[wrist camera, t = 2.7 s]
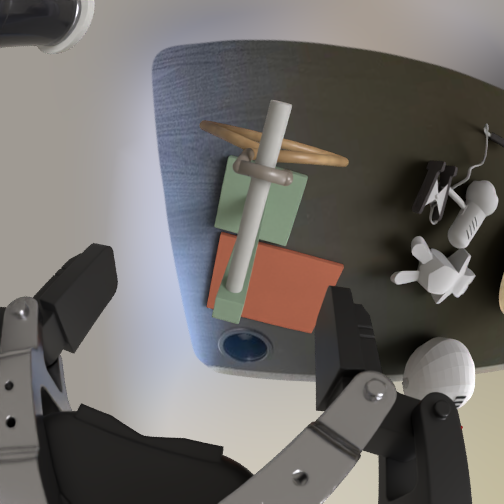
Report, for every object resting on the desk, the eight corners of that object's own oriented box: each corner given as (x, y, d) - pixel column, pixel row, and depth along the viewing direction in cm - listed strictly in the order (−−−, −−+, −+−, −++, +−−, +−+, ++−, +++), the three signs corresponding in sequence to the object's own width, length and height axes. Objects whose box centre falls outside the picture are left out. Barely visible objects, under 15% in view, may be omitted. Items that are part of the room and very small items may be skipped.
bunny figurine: (457, 313, 40) (392, 298, 38) (445, 293, 44) (380, 275, 42) (490, 267, 35) (427, 241, 33) (474, 249, 39) (411, 222, 37)
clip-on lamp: (459, 103, 30) (400, 203, 36) (484, 97, 24) (420, 211, 30) (506, 157, 31) (453, 251, 37) (532, 159, 25) (476, 266, 31)
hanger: (200, 128, 26) (145, 155, 16) (202, 119, 25) (147, 141, 16) (345, 166, 26) (375, 216, 16) (348, 157, 25) (381, 202, 16)
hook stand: (216, 223, 42) (158, 336, 24) (245, 86, 32) (186, 84, 14) (285, 242, 42) (276, 368, 24) (327, 107, 32) (374, 133, 14)
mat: (207, 304, 50) (206, 307, 49) (221, 231, 42) (220, 234, 42) (310, 330, 50) (311, 333, 49) (343, 264, 43) (343, 267, 42)
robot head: (378, 368, 54) (391, 456, 37) (412, 316, 46) (443, 414, 29) (438, 372, 53) (459, 449, 36) (474, 326, 46) (510, 407, 29)
